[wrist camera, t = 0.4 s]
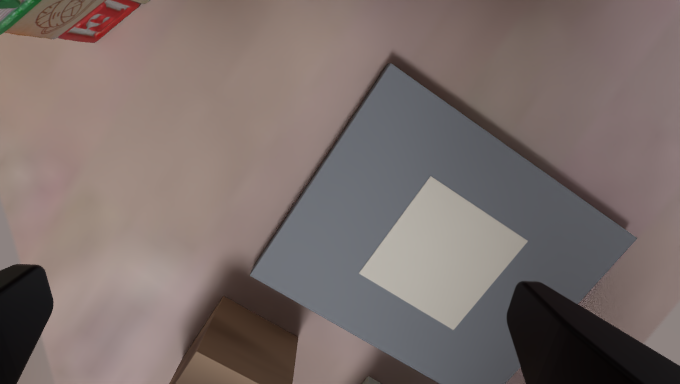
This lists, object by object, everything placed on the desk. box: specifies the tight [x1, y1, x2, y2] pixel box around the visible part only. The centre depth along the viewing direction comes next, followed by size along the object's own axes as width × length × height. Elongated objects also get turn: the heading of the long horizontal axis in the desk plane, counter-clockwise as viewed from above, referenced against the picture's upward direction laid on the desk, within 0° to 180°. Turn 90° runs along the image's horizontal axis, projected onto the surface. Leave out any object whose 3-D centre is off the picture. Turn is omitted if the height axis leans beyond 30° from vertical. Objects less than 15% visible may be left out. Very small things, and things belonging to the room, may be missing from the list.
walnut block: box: [169, 296, 298, 384], centre depth 23 cm, size 5×5×5 cm
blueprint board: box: [250, 63, 637, 384], centre depth 23 cm, size 13×16×1 cm
